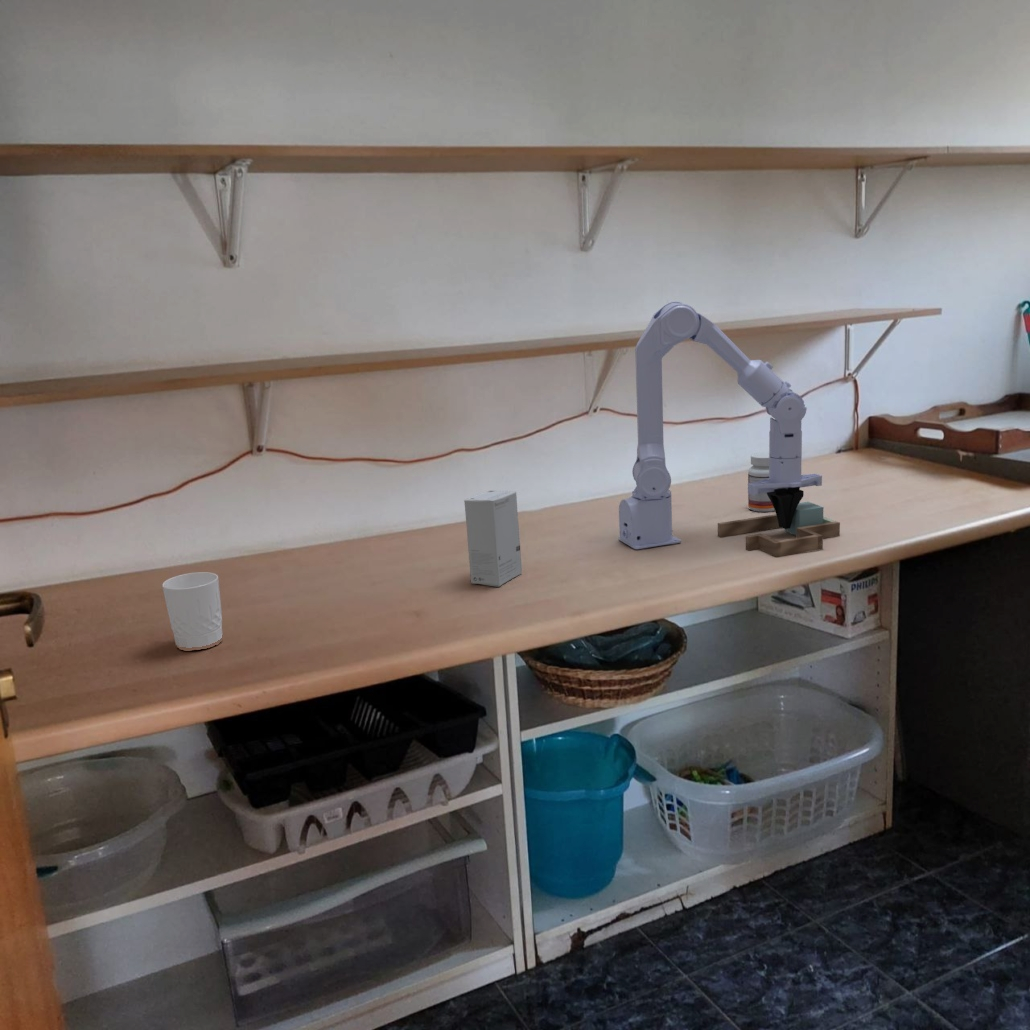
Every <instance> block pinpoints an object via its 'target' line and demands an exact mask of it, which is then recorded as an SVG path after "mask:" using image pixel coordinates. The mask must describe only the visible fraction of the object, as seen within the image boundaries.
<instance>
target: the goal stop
mask: <svg viewBox="0 0 1030 1030" xmlns="http://www.w3.org/2000/svg"><path fill="white" fill-rule="evenodd" d="M830 522H836V520H834V519H832V518H828V517H825V516H823V523H830Z"/></svg>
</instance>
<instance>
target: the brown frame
mask: <svg viewBox="0 0 1030 1030" xmlns="http://www.w3.org/2000/svg"><path fill="white" fill-rule="evenodd" d="M835 521H836V520H835ZM780 528H781V527H779V523H778V519H777V515H776V513H775V514H769V515H763V516H756V517H751V518H743V519H736V520H730V521H723V522H718V523H717V537H719V538H724V537H725V538H726V537H731V536H736V535H743V534H749V533H755V534H749V535H745V550H746V551H749V552H750V551H755V550H760V551H762V552H764V553H766V554H768V555H770V556H773V557H775V558H778V557H784V556H789V555H790V556H791V555H794V554H796V555H797V554H801V553H802V554H803V553H807V552H812V551H814V552H815V551H818V550H819V551H821V550H823V549H824V547H823V545H824V539H828V538H834V537H840V534H841V533H840V532H841V522H839V521H836V522H830V523H823V524H817V525H811V526H805V527H798V528H797V536H796V537H794V538H787V539H782V540H776V539H774V538H771V537H769V536H767V535H765V534H762V533H758V532H762V531H767V530H775V529H780ZM781 529H782V528H781ZM756 532H757V534H756Z"/></svg>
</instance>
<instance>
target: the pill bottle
mask: <svg viewBox="0 0 1030 1030" xmlns="http://www.w3.org/2000/svg"><path fill="white" fill-rule="evenodd" d="M750 465H752V466H750V467H749V469H748V470H747V471H748V472H747V473H748V474H747V477H748V479H747V481H748V482H747V484H748V483H753V482H757V481H760V480H764V479H767V478H769V452H758V453H752V454H751V455H750ZM747 494H748V493H747ZM747 497H748V498H747V501H748V502H747V503H748V509H749V510H750V511H754V512H760V513H767V512H768V513H769V512H775V509H774V507H773V504H772V502H771V500H770V499H769V497H768V495H767V493H760V494H758V495H751V494H748V496H747Z"/></svg>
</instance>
